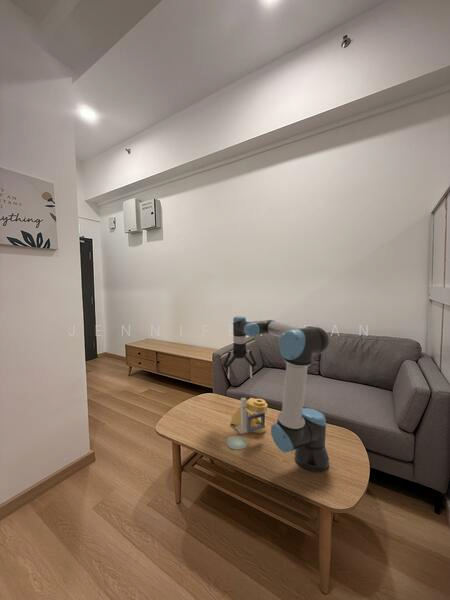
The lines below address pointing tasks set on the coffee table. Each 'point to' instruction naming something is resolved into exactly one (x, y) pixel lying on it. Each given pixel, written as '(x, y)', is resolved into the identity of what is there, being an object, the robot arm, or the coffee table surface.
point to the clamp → (253, 407)
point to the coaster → (237, 442)
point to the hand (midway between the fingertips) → (239, 377)
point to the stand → (244, 417)
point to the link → (257, 427)
